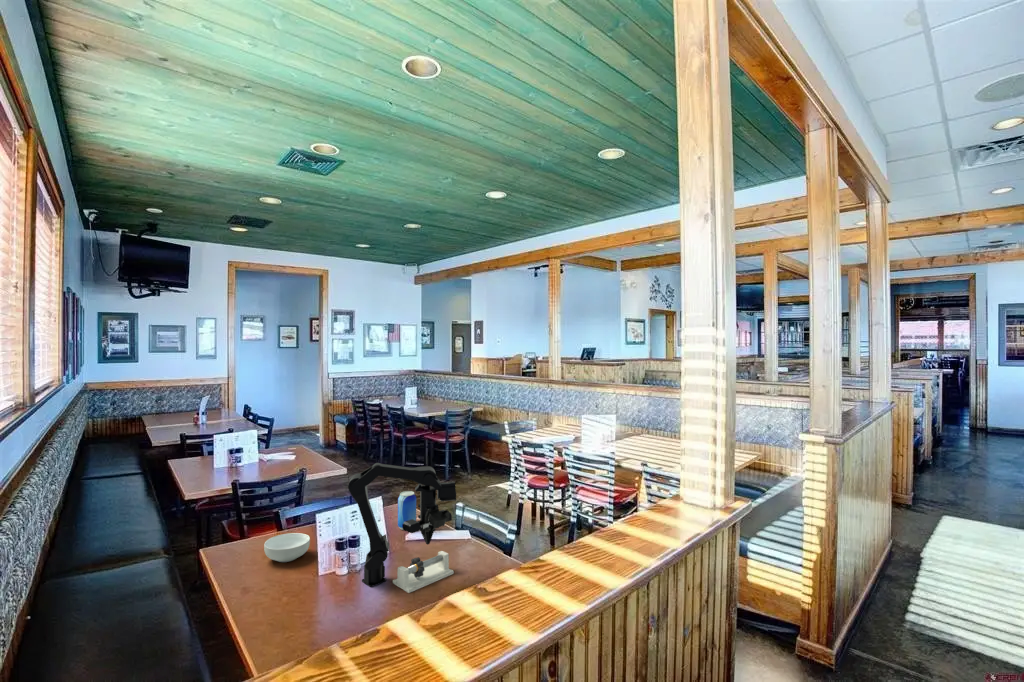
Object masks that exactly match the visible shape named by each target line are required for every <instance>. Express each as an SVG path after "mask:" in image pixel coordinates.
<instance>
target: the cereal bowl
mask: <svg viewBox="0 0 1024 682" xmlns="http://www.w3.org/2000/svg"><path fill="white" fill-rule="evenodd" d="M263 544H264V545H263V546H264V548H263V549H264V554H265V556H266V557H267V558H268V559H270V560H273V561H276V562H279V563H287V562H292V561H294V560H296V559H297V558H300V557H301V556H303V555H304V554H305V553H306V552H307V551H308V549H309V547H310V544H311V538H310V535H308V534H305V533H299V532H292V533H290V532H289V533H283V534H278V535H274V536H273V537H272V536H271V537H270V538H268V539H267V540H266V541H265V542H264V543H263Z"/></svg>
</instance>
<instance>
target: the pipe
mask: <svg viewBox="0 0 1024 682" xmlns="http://www.w3.org/2000/svg"><path fill="white" fill-rule="evenodd" d="M441 561H443V556H442V555H438V554H437V555H435V556H434V557H431V558H428V559H425V560H423V567H424V568H426V567H429V566H431V565H434V564H436V563H439V562H441ZM421 567H422V566H421ZM406 568H407V569H409V574H411V573H414V572H417V571H418V568H419V567H418V566H417V564H414V565H412V566H408V567H406Z"/></svg>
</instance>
